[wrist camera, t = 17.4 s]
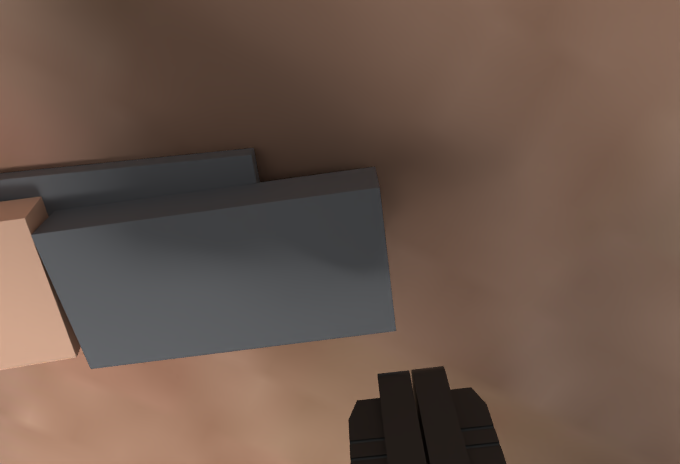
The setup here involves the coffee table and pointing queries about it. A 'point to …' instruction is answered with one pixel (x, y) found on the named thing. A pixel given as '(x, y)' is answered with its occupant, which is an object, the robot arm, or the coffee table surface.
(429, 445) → the robot arm
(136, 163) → the domino
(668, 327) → the coffee table surface
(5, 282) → the domino
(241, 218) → the domino
